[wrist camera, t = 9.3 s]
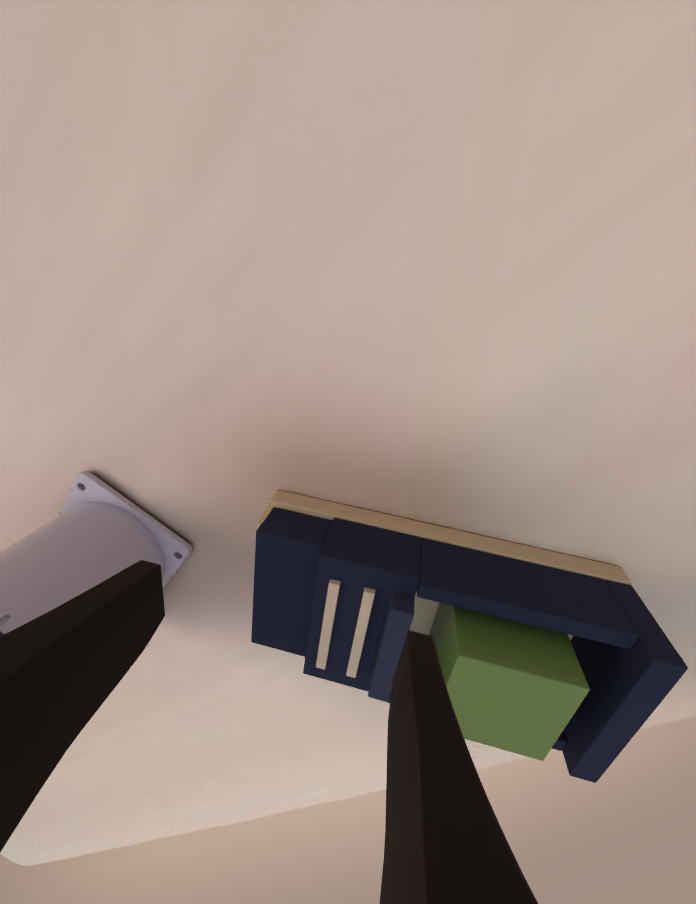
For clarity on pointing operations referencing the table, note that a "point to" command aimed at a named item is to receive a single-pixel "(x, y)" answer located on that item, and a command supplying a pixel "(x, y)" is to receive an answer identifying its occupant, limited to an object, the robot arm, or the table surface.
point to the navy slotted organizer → (458, 584)
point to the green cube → (507, 679)
